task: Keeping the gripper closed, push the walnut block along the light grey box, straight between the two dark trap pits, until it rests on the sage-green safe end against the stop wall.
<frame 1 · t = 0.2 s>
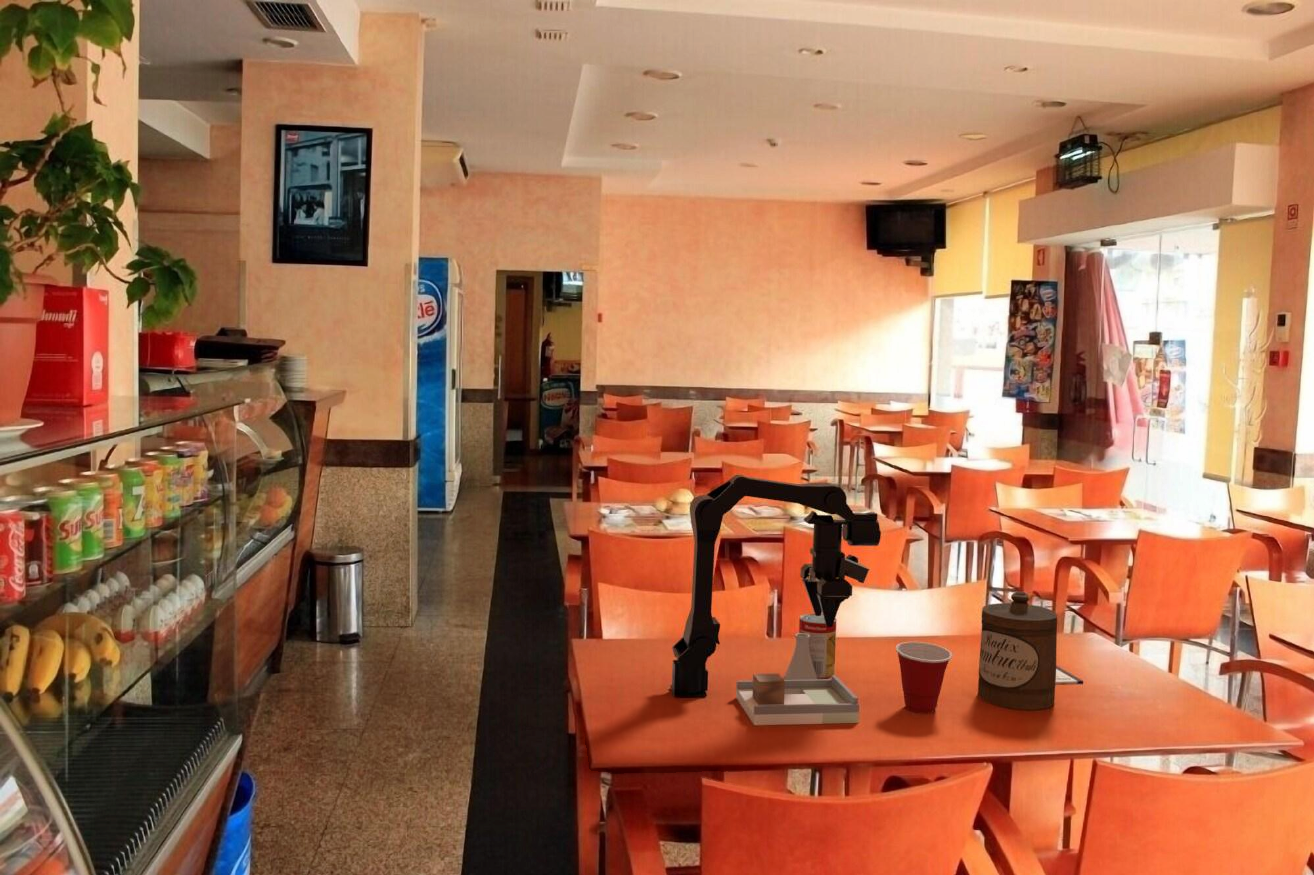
hand: (823, 621, 229), 14 cm above the table, tool pointing down, fingers open, 9 cm apart
flask: (800, 682, 236), on the table
canned food: (815, 673, 243), on the table
walnut block: (768, 700, 216), point 2 cm above the table, touching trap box
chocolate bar: (1042, 674, 248), on the table
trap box: (795, 709, 217), on the table
wooden container: (1015, 699, 228), on the table
plastic cup: (921, 709, 220), on the table
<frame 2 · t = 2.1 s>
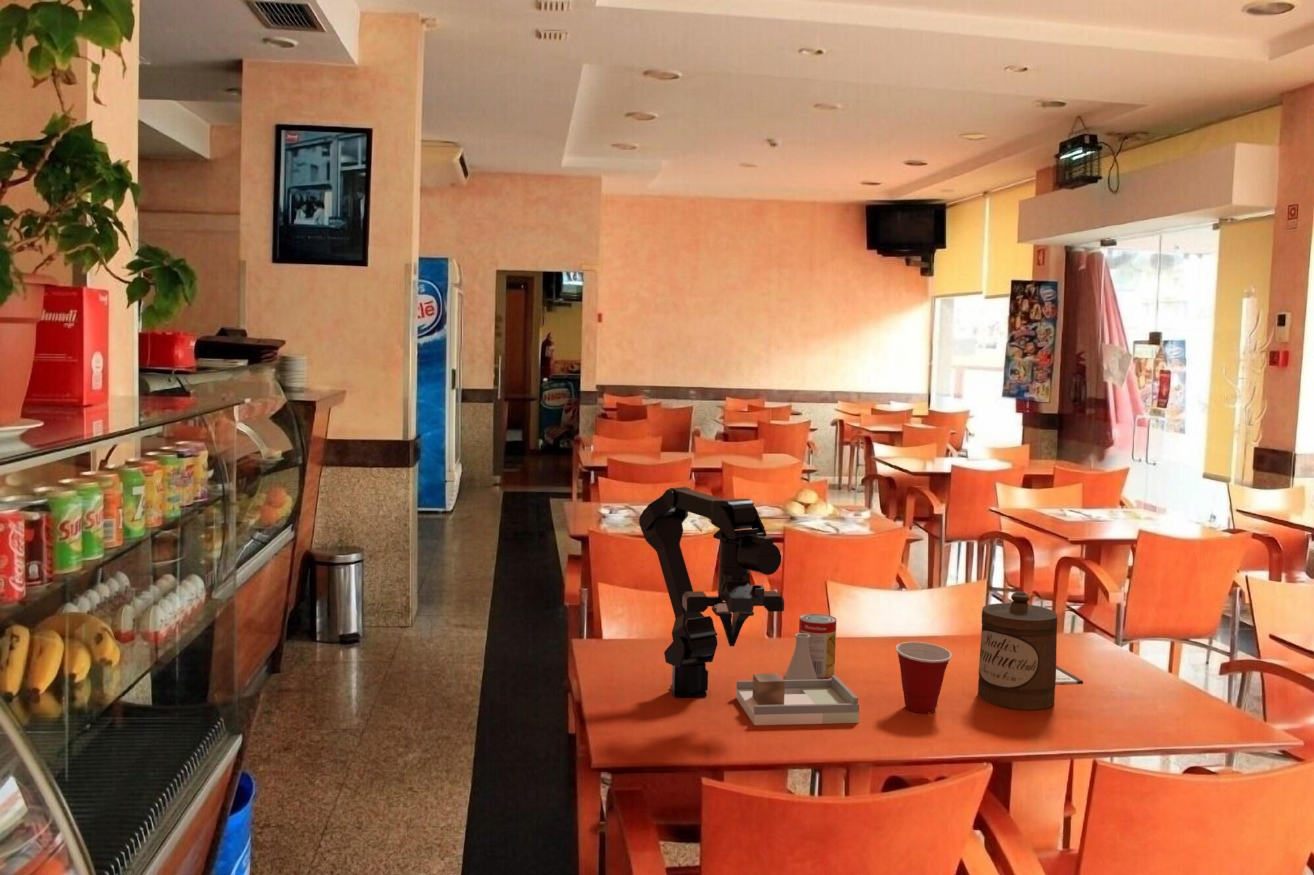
hand: (731, 645, 214), 13 cm above the table, tool pointing down, fingers closed
nothing on the table moved.
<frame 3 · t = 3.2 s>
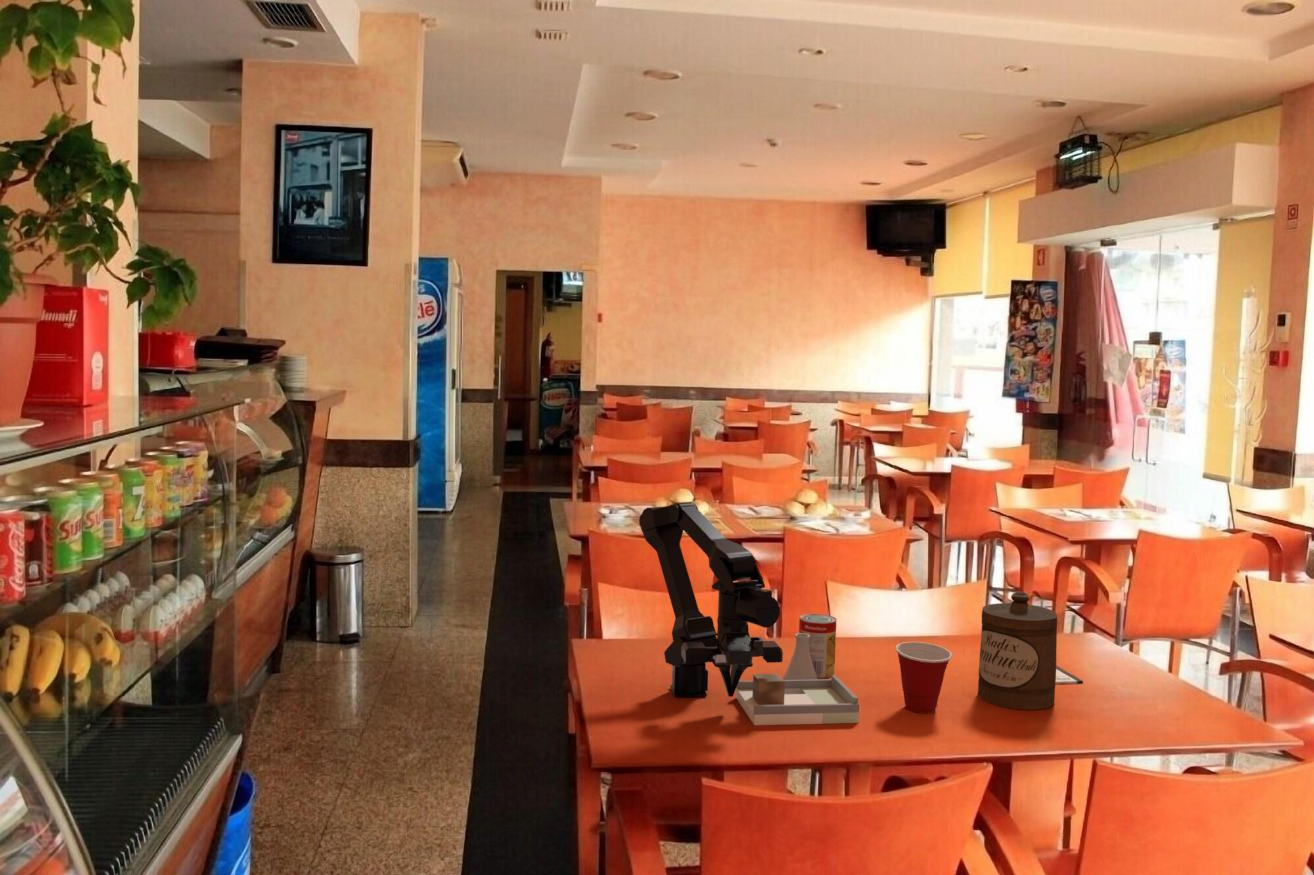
hand: (730, 696, 215), 3 cm above the table, tool pointing down, fingers closed
nothing on the table moved.
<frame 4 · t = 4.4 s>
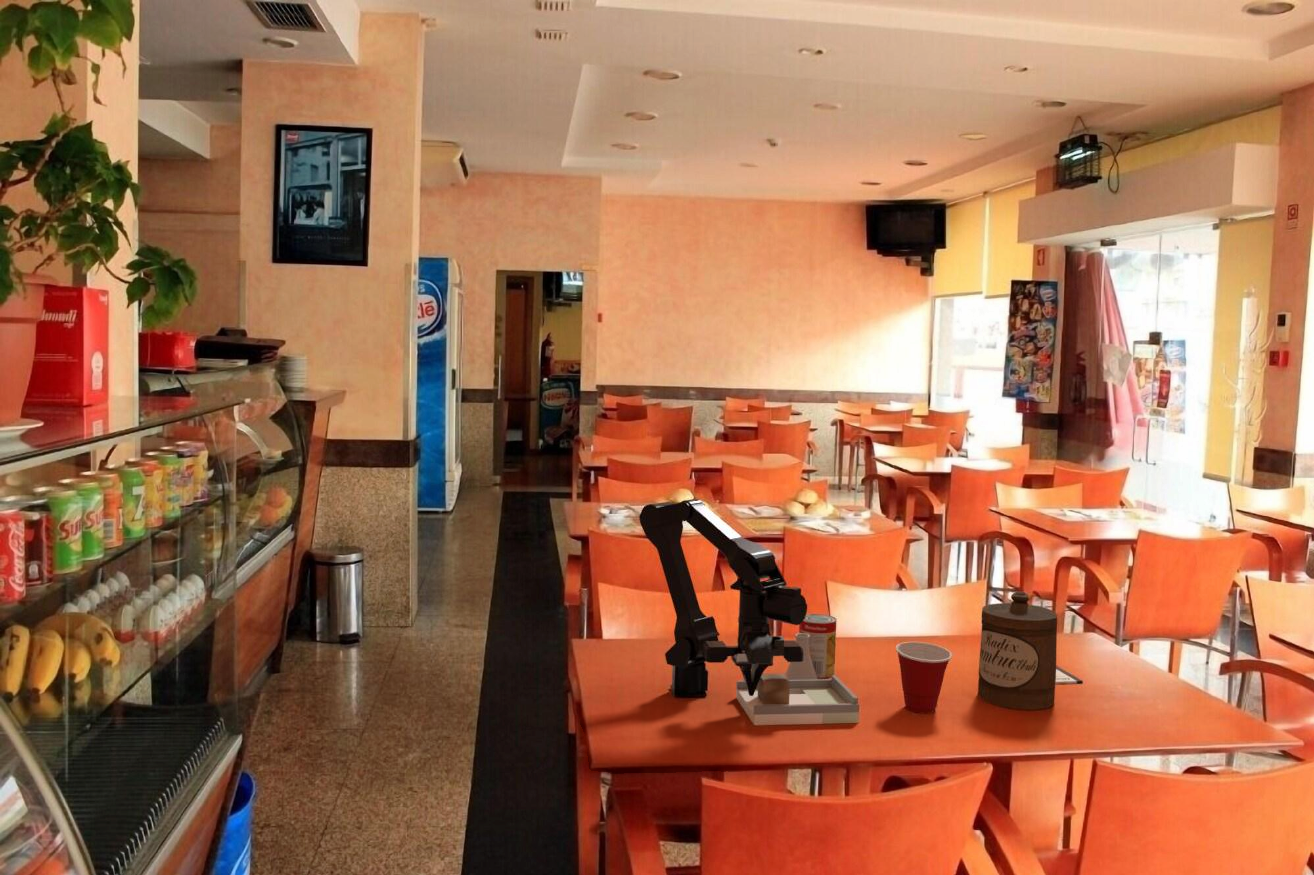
hand: (750, 695, 216), 3 cm above the table, tool pointing down, fingers closed
walnut block: (773, 700, 217), point 2 cm above the table, touching gripper
everything else where it was.
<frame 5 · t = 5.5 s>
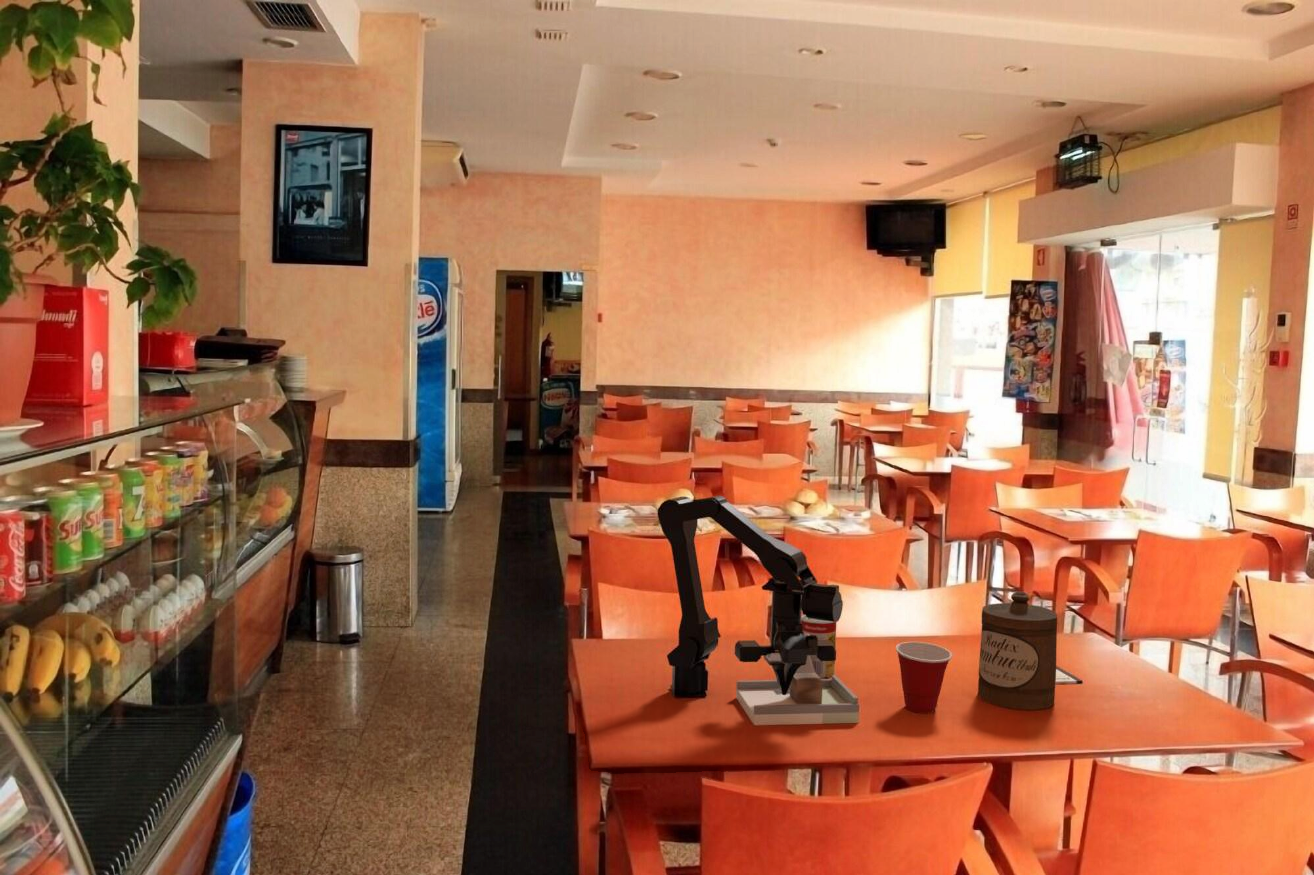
hand: (783, 694, 217), 3 cm above the table, tool pointing down, fingers closed
walnut block: (805, 699, 217), point 2 cm above the table, touching gripper
everything else where it was.
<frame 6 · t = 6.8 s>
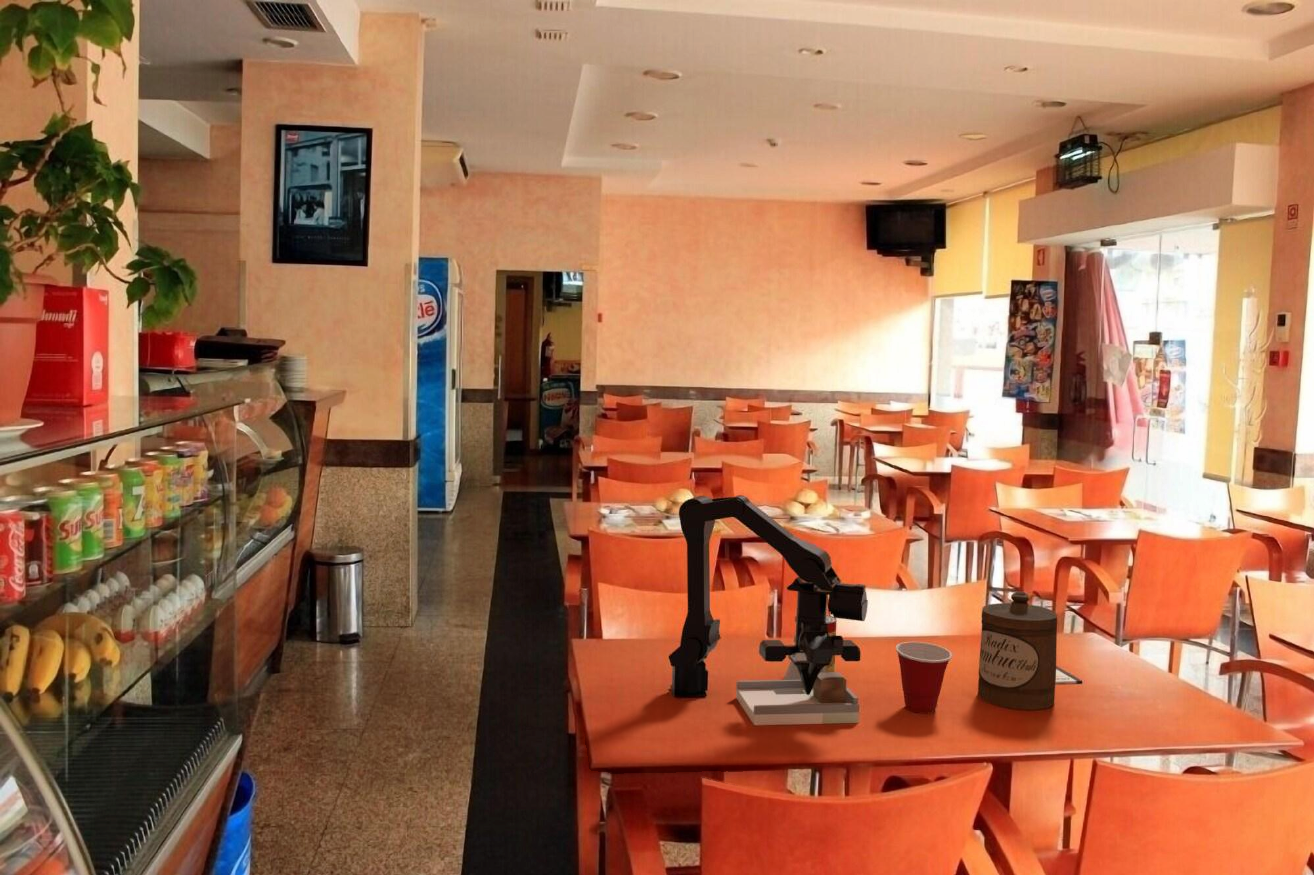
hand: (807, 694, 217), 3 cm above the table, tool pointing down, fingers closed
walnut block: (829, 698, 218), point 2 cm above the table, touching gripper, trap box
everything else where it was.
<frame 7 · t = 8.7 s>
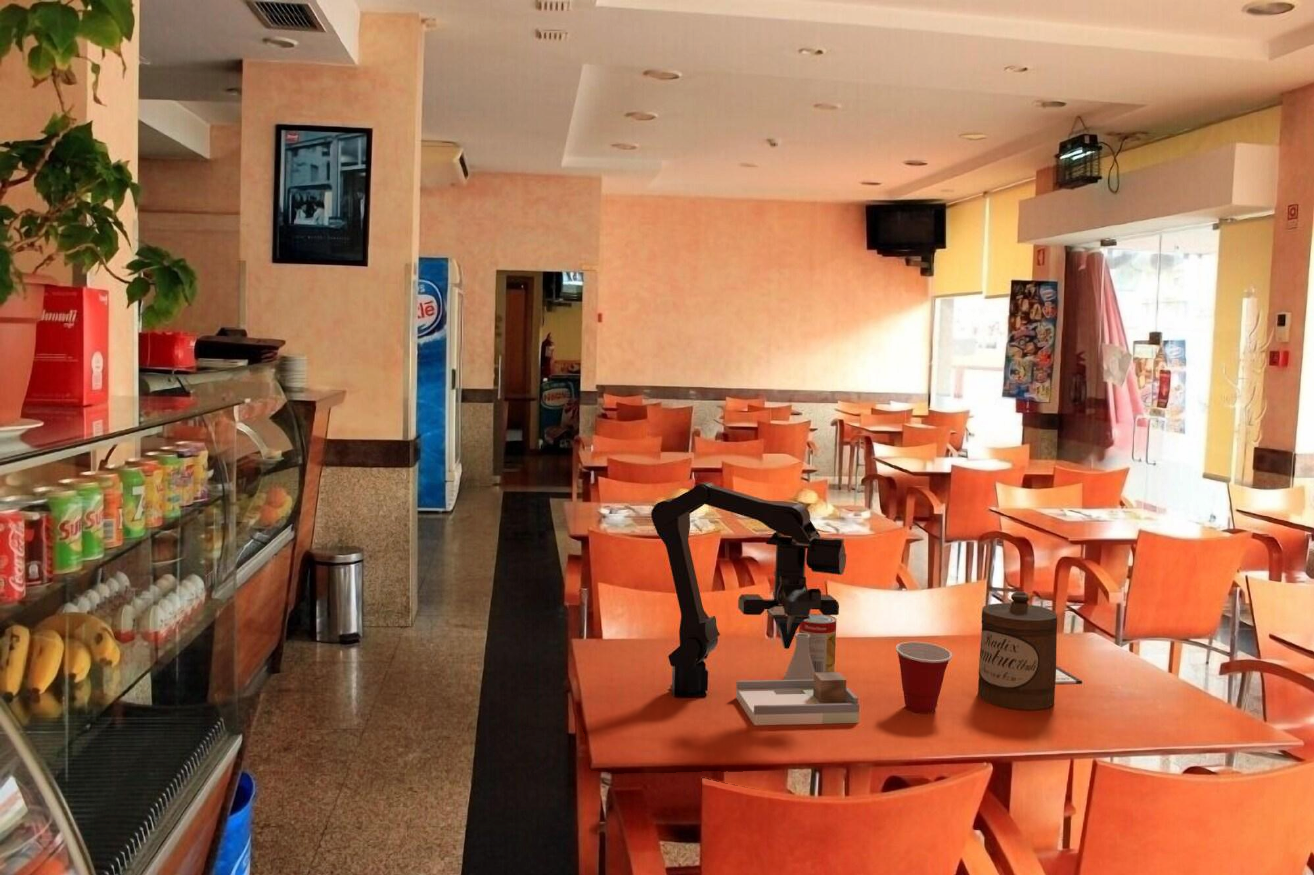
hand: (786, 648, 218), 12 cm above the table, tool pointing down, fingers closed
walnut block: (829, 698, 218), point 2 cm above the table, touching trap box
everything else where it was.
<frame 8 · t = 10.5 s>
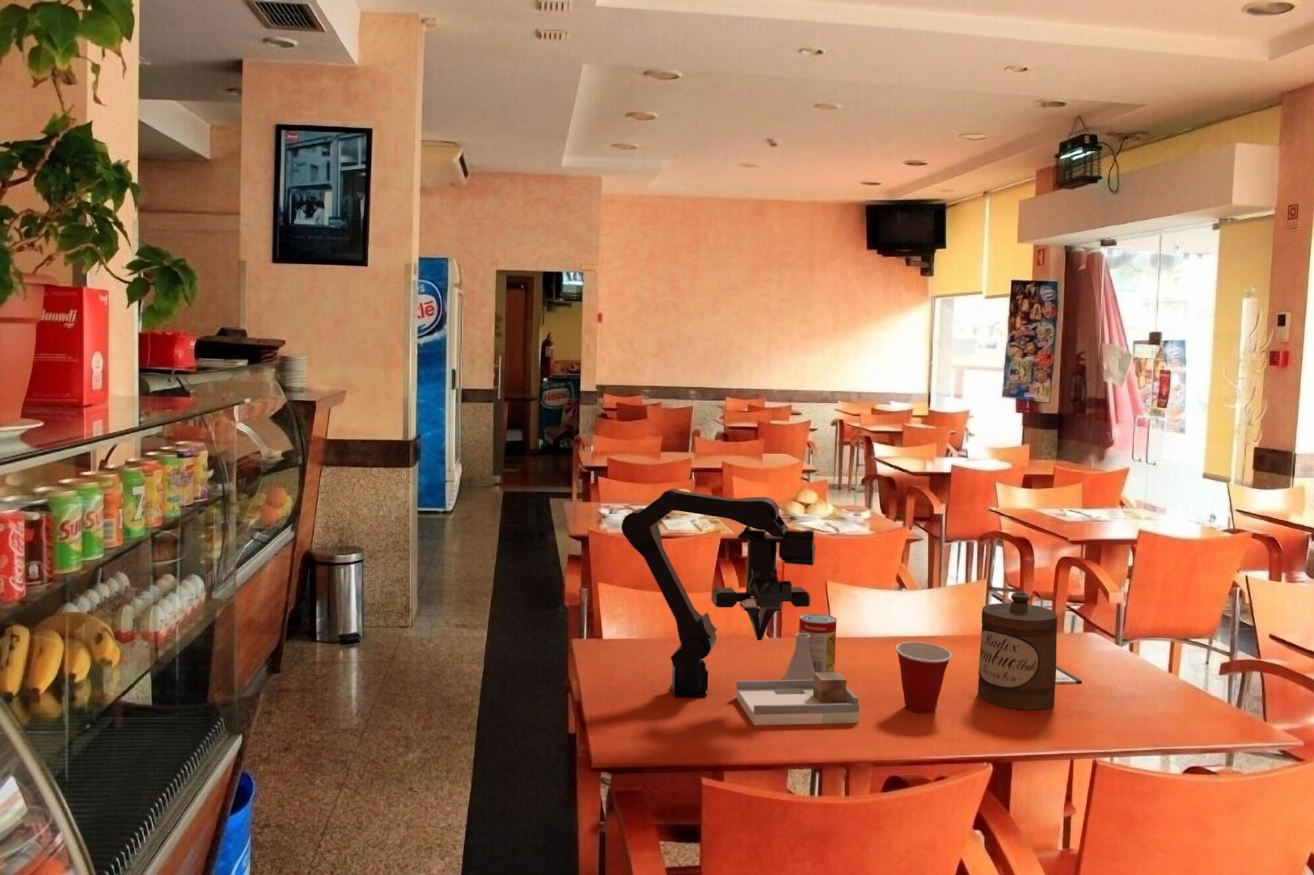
hand: (759, 639, 222), 12 cm above the table, tool pointing down, fingers closed
nothing on the table moved.
at the end: walnut block 0.2 cm from the target spot on the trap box, point 2.0 cm above the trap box's base; walnut block tilted 0° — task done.
